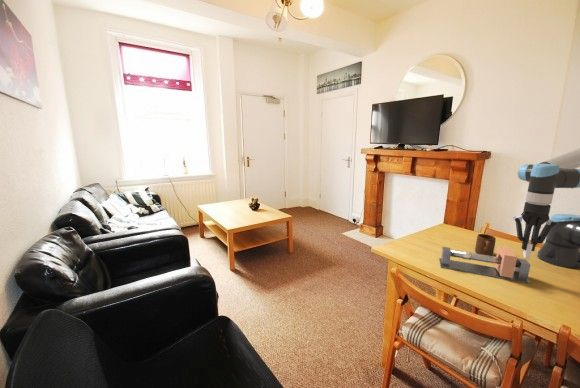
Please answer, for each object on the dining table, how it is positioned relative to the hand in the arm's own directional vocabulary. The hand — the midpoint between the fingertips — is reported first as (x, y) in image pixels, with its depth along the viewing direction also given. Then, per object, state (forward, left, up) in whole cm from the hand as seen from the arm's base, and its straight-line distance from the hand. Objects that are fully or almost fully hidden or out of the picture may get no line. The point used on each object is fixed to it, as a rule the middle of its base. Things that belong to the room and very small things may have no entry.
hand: (526, 257), depth 108 cm
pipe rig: (+14, 0, -10) cm, 17 cm away
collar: (+6, 0, -8) cm, 11 cm away
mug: (+9, -19, -10) cm, 23 cm away
